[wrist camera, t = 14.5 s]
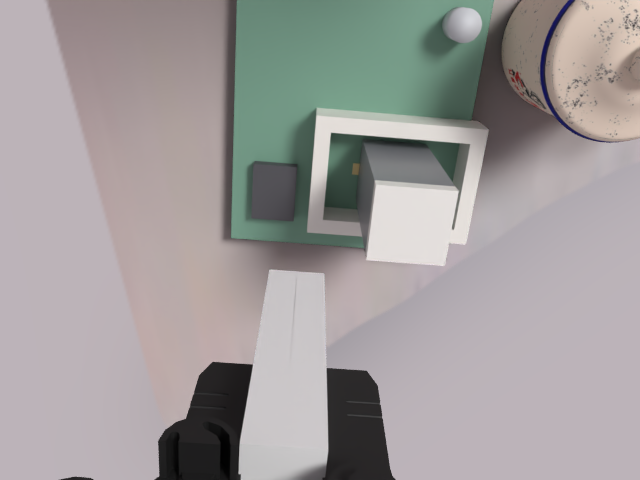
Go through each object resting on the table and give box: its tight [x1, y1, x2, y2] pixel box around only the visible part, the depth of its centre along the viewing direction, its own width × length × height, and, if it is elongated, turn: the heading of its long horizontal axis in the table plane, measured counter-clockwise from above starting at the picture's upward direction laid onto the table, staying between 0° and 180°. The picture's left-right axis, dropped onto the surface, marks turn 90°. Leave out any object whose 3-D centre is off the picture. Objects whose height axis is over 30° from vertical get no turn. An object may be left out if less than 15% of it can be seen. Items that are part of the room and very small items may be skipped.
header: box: [307, 108, 489, 244], centre depth 39 cm, size 8×11×3 cm
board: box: [231, 0, 494, 248], centre depth 39 cm, size 18×16×3 cm
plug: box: [356, 139, 459, 266], centre depth 36 cm, size 5×4×10 cm
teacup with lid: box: [502, 0, 640, 143], centre depth 33 cm, size 12×9×12 cm
